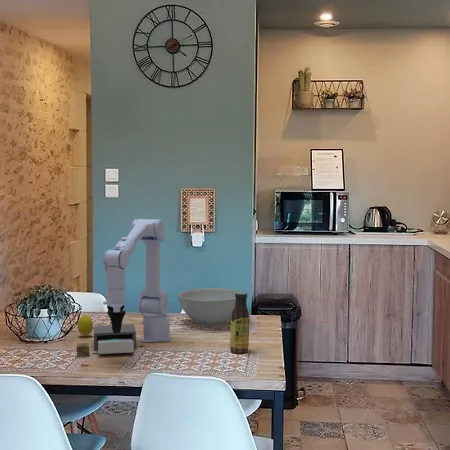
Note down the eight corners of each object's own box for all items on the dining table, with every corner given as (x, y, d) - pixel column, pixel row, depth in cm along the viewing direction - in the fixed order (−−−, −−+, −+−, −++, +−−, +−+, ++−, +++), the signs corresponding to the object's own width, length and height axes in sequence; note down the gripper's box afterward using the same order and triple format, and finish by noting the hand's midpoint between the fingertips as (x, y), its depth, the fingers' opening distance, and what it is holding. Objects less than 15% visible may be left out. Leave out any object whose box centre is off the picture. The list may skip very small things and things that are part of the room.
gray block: (133, 340, 231) (133, 324, 231) (135, 348, 221) (135, 331, 220) (93, 342, 229) (93, 325, 228) (94, 350, 218) (93, 333, 217)
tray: (131, 344, 221) (131, 333, 221) (133, 352, 212) (133, 341, 212) (97, 346, 219) (97, 335, 219) (98, 353, 210) (98, 342, 209)
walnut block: (89, 353, 215) (89, 342, 214) (89, 356, 211) (89, 346, 210) (77, 353, 214) (76, 343, 214) (76, 357, 210) (76, 346, 210)
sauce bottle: (235, 354, 213) (235, 295, 212) (226, 350, 219) (226, 292, 217) (252, 352, 216) (253, 293, 215) (243, 348, 222) (244, 290, 220)
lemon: (89, 338, 234) (89, 317, 233) (75, 338, 235) (74, 316, 234) (95, 335, 239) (95, 313, 238) (81, 334, 240) (81, 313, 239)
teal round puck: (126, 347, 215) (126, 341, 215) (110, 349, 212) (110, 343, 212) (119, 344, 220) (119, 338, 220) (104, 346, 217) (104, 340, 217)
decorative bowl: (164, 323, 258) (164, 293, 257) (214, 313, 276) (214, 285, 275) (208, 336, 238) (208, 303, 238) (259, 324, 256) (259, 294, 255)
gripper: (102, 284, 211) (103, 325, 212) (103, 292, 196) (103, 336, 197) (124, 283, 212) (124, 324, 213) (126, 291, 198) (127, 335, 199)
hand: (116, 330), depth 205 cm, fingers open, 6 cm apart
